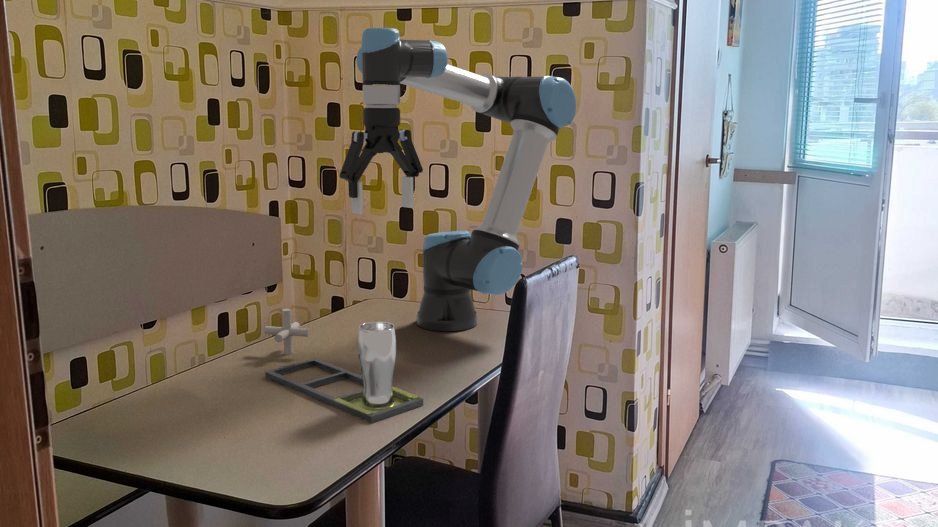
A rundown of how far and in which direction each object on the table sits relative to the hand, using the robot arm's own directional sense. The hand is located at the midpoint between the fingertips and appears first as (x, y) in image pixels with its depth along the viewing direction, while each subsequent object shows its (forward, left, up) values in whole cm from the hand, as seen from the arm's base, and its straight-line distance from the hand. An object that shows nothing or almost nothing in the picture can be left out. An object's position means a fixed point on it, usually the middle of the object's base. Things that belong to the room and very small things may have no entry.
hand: (383, 210), depth 179 cm
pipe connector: (+12, -19, -33) cm, 40 cm away
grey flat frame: (+18, +8, -33) cm, 38 cm away
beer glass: (+18, +19, -33) cm, 42 cm away
